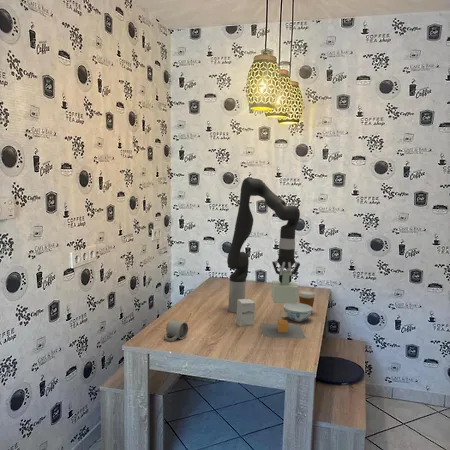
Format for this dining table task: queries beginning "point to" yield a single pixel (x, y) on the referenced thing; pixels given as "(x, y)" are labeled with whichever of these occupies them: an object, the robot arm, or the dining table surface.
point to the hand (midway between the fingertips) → (285, 282)
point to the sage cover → (284, 290)
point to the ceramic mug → (176, 330)
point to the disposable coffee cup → (306, 298)
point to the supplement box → (245, 312)
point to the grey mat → (272, 331)
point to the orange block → (282, 326)
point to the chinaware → (297, 311)
